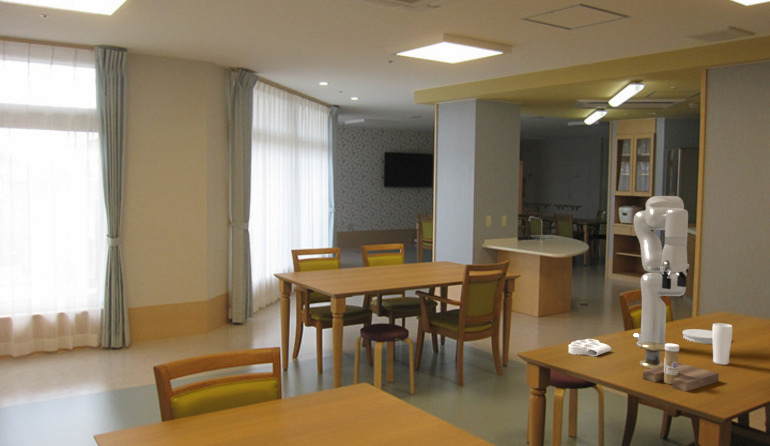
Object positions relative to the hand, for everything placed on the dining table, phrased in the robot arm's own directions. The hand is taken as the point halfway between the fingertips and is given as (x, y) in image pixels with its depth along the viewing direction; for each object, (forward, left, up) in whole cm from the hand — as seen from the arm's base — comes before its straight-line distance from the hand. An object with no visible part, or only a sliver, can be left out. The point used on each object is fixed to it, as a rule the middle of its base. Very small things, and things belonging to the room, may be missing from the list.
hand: (673, 287), depth 230 cm
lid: (-17, +55, -31) cm, 65 cm away
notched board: (+11, -12, -30) cm, 34 cm away
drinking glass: (+7, +22, -31) cm, 38 cm away
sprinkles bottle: (+11, -18, -31) cm, 37 cm away
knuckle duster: (-32, -8, -31) cm, 45 cm away
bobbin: (-5, -4, -30) cm, 31 cm away
